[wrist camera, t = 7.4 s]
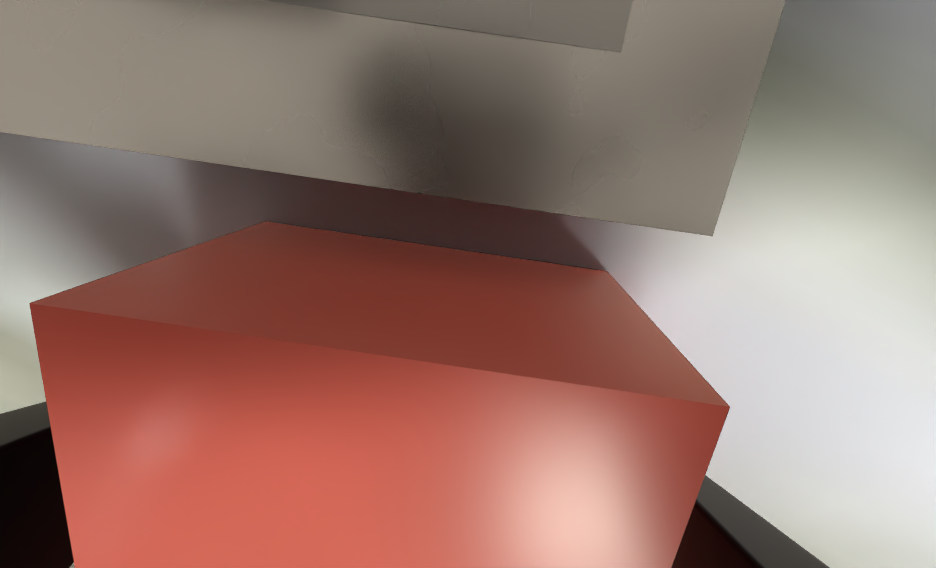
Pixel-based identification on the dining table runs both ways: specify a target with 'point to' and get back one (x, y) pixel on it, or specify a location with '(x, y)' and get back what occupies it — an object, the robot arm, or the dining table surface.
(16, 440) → the robot arm
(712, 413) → the cap
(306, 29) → the panel
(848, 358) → the dining table surface
